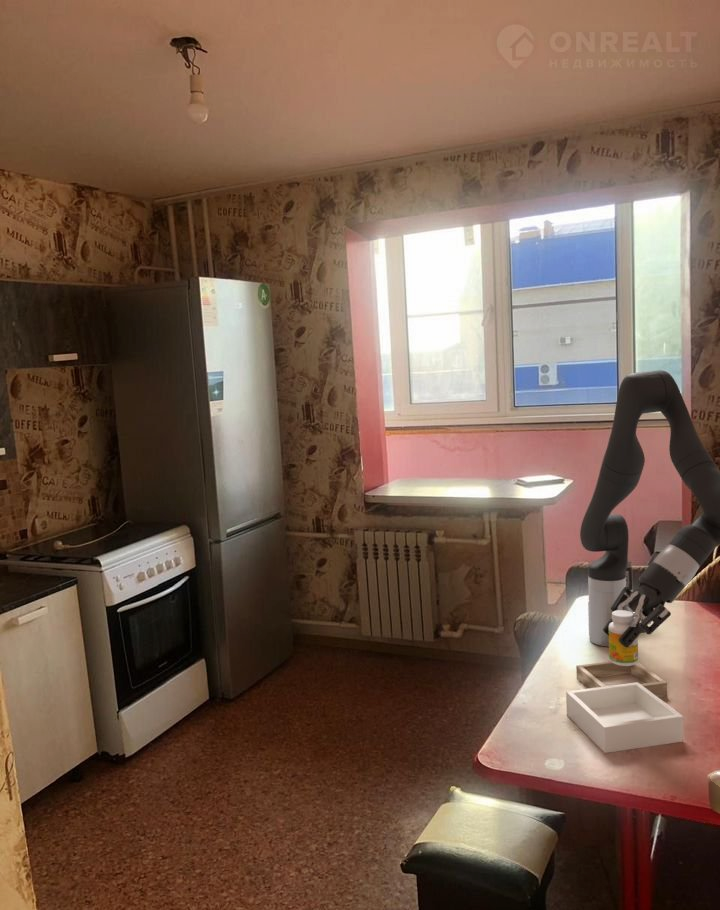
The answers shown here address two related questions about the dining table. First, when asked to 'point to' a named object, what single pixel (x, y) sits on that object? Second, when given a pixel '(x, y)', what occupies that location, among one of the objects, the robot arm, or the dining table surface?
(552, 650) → the dining table surface
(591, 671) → the frame
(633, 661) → the supplement bottle
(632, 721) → the bin
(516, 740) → the dining table surface
